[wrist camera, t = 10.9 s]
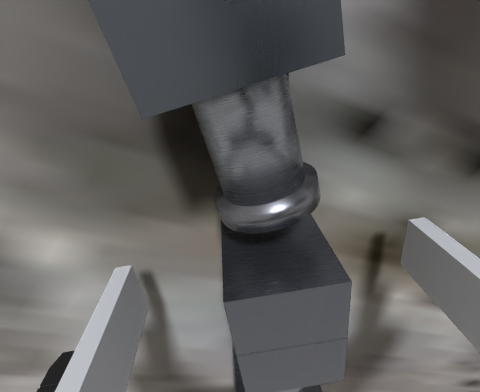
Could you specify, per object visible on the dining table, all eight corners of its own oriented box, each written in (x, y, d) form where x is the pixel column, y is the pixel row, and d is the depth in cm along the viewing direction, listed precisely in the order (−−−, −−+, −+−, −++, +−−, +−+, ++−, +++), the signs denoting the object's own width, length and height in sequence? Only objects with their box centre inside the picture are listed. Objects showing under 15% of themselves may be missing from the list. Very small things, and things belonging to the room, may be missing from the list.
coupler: (301, 273, 16) (344, 380, 11) (236, 284, 16) (246, 396, 11) (298, 194, 13) (351, 281, 8) (220, 206, 13) (223, 302, 8)
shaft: (133, -7, 9) (56, -70, 5) (271, -56, 9) (325, -170, 4) (208, 186, 13) (203, 252, 8) (308, 156, 13) (358, 209, 8)
